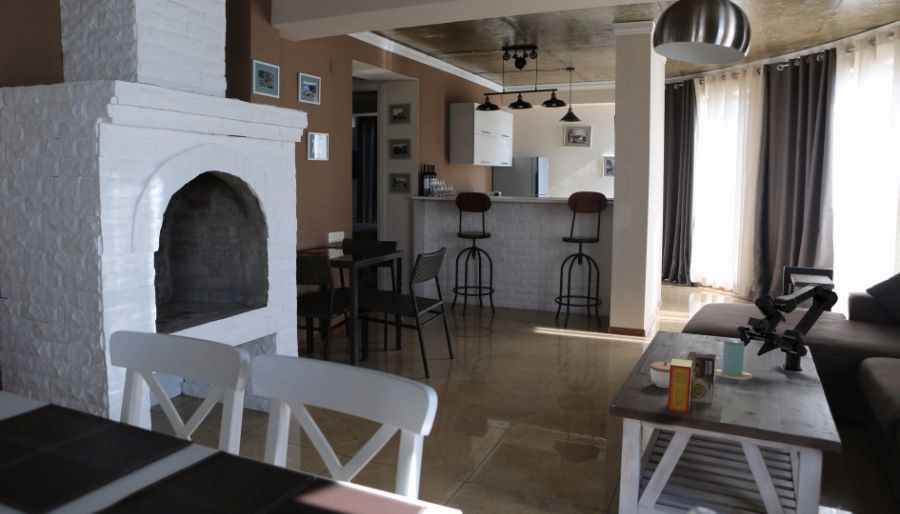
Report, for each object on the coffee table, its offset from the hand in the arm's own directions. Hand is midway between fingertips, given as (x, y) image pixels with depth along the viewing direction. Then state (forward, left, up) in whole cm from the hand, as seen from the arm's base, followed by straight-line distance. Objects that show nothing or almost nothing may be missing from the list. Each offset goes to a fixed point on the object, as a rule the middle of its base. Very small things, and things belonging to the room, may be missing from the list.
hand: (748, 352), depth 276 cm
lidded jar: (+28, -31, -9) cm, 42 cm away
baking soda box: (+53, -26, -9) cm, 59 cm away
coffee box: (+41, -19, -9) cm, 46 cm away
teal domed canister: (+5, -6, -8) cm, 11 cm away
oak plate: (+6, -6, -9) cm, 12 cm away
